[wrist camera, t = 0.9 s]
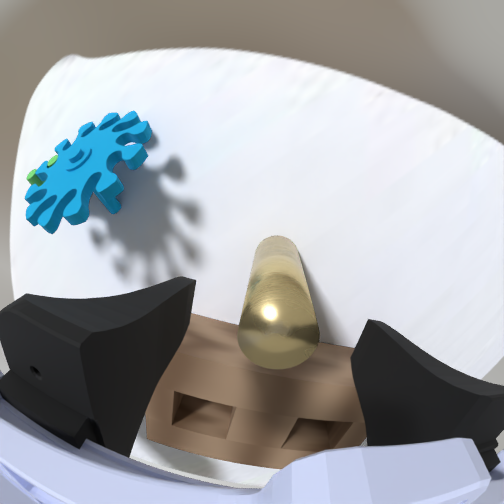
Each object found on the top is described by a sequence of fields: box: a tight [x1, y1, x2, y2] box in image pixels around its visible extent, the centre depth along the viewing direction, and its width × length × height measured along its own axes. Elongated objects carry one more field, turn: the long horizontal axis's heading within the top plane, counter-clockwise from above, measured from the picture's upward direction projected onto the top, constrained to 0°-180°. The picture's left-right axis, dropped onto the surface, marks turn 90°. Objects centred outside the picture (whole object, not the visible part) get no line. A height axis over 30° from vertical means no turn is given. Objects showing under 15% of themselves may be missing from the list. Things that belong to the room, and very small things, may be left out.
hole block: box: [146, 313, 367, 469], centre depth 21 cm, size 18×12×5 cm, turn 77°
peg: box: [237, 236, 319, 369], centre depth 15 cm, size 3×3×10 cm
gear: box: [24, 111, 152, 234], centre depth 17 cm, size 11×6×10 cm
